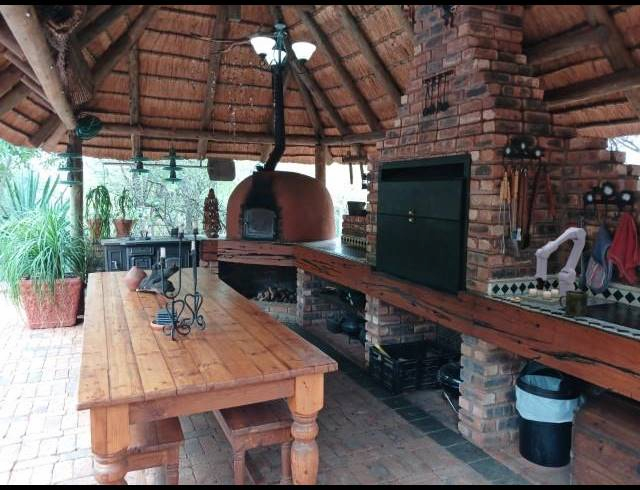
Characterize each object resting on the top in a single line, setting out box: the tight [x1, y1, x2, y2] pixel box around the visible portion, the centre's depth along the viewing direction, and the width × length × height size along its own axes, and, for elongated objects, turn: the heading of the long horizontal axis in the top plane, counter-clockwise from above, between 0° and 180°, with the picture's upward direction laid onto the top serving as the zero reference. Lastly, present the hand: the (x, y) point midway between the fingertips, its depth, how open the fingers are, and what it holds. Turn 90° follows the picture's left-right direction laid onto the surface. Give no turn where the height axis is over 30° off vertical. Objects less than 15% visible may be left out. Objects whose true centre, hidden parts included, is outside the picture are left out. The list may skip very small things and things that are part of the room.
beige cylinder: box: [536, 289, 545, 296], centre depth 314 cm, size 4×4×4 cm
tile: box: [506, 296, 524, 302], centre depth 310 cm, size 9×9×1 cm
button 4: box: [528, 288, 538, 297], centre depth 308 cm, size 4×4×4 cm
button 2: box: [543, 290, 551, 300], centre depth 301 cm, size 4×4×4 cm
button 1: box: [550, 288, 560, 298], centre depth 306 cm, size 4×4×4 cm
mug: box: [558, 290, 589, 317], centre depth 272 cm, size 11×15×12 cm
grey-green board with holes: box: [519, 292, 566, 306], centre depth 308 cm, size 20×20×2 cm
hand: (540, 289), depth 313 cm, fingers closed
